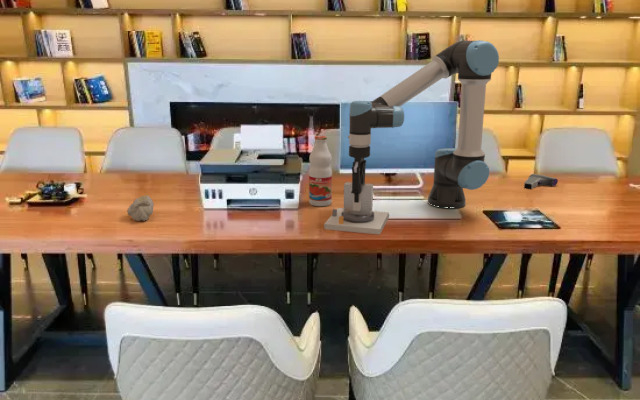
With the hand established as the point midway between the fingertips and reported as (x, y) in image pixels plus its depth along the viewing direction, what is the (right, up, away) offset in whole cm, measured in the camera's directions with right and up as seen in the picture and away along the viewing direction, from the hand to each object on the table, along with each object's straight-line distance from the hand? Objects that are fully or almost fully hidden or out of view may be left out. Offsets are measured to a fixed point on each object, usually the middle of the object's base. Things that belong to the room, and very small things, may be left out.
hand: (358, 208), depth 197 cm
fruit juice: (-14, +1, +25) cm, 29 cm away
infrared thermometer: (+88, +9, +53) cm, 103 cm away
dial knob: (0, -3, +1) cm, 3 cm away
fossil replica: (-81, -4, +6) cm, 81 cm away
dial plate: (0, -5, +2) cm, 6 cm away
